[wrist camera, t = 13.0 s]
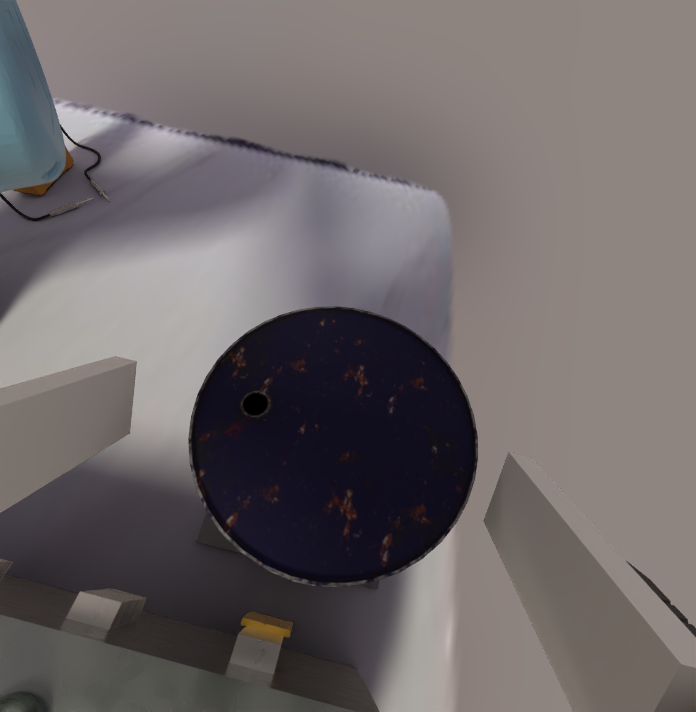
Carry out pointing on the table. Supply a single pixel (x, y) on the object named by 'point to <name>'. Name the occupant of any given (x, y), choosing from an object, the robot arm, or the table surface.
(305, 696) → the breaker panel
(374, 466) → the dark blue barrel
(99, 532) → the table surface
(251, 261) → the table surface
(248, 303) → the table surface
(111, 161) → the table surface
